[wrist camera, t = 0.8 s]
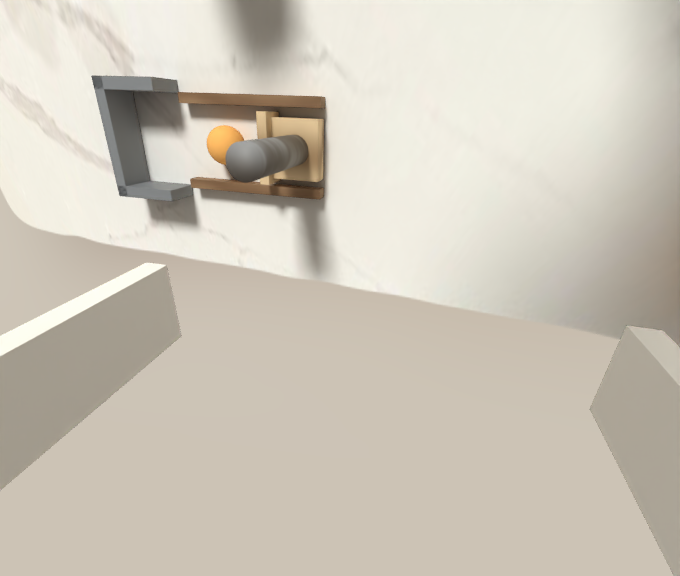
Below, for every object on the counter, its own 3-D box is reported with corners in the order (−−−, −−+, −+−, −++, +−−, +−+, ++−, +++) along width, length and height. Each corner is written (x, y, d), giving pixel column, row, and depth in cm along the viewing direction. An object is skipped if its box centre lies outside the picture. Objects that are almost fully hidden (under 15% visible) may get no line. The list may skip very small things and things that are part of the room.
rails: (186, 92, 40) (177, 92, 38) (325, 97, 36) (320, 96, 35) (198, 185, 44) (191, 187, 43) (323, 196, 41) (319, 199, 39)
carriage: (269, 111, 38) (196, 109, 27) (323, 113, 37) (271, 112, 25) (272, 179, 41) (208, 204, 30) (323, 183, 40) (275, 210, 28)
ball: (217, 124, 40) (196, 125, 37) (250, 125, 39) (231, 126, 36) (221, 161, 42) (201, 165, 38) (253, 164, 41) (235, 168, 38)
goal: (121, 78, 41) (91, 75, 37) (176, 80, 39) (150, 76, 36) (144, 189, 46) (119, 195, 43) (193, 194, 45) (172, 201, 41)
